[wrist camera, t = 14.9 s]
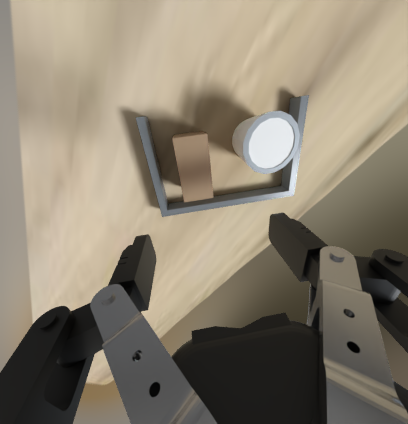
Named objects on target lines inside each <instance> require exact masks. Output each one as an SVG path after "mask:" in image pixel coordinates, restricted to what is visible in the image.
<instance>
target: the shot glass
mask: <svg viewBox="0 0 408 424" xmlns="http://www.w3.org/2000/svg"><path fill="white" fill-rule="evenodd" d="M299 138H300V133H299V129H298V124H297V122H296V121H295V120H294V119H293V117H292V116H291V115H290V114H287V113H285V112H282V111H274V112H267V113H264V114H261V115H258V116H255V117H252V118H248V119H246V120H244V121H243V122H241V123H240V124H239V125H238V126H237V128H236V129H235V131H234V134H233V136H232V146H233V148H234V150H235V152H236V153H237V154H238V155H239V156H240V157H241V158H242V160H243V161H244V162H245V163H246V164H247V165H248V166H250V167H251V168H252V169H253V170H254V171H256V172H259V173H263V174H267V173H274V172H276V171H278V170H280V169H281V168H283V167H285V166H286V165H287V164H288V162H289V161H290V160H291V159H292V158H293V156H294V154H295V152H296V150H297V148H298V144H299Z"/></svg>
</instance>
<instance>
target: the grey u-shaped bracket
mask: <svg viewBox="0 0 408 424" xmlns="http://www.w3.org/2000/svg"><path fill="white" fill-rule="evenodd" d="M308 98H309V95H307V96H300V97H295V98H290V106H289V114H290V115H291V116H292V117H293V119H294V120H295V121H296V122H297V124H298V129H299V133H300V138H299V144H298V148H297V150H296V152H295V154H294V156H293V158H292V159H291V160H290V161H289V162H288V164H287V165H286V166H285V167H283V172H282V181H281V186H277V187H271V188H264V189H258V190H252V191H245V192H239V193H232V194H226V195H220V196H213V197H214V198H209V199H203V200H197V201H190V202H184V201H182V202H175V203H169V204H168V201H167V197H166V193H165V189H164V184H163V180H162V176H161V172H160V168H159V164H158V159H157V155H156V151H155V147H154V143H153V139H152V134H151V130H150V126H149V122H148V118H147V117H136V121H137V125H138V128H139V132H140V136H141V140H142V143H143V147H144V151H145V154H146V158H147V162H148V166H149V169H150V173H151V177H152V180H153V184H154V188H155V192H156V195H157V199H158V203H159V206H160V210H161V214H162V217H164V216H170V215H177V214H183V213H189V212H195V211H201V210H208V209H214V208H220V207H226V206H232V205H239V204H245V203H251V202H257V201H263V200H270V199H276V198H282V197H288V196H294V192H295V185H296V178H297V171H298V165H299V158H300V151H301V145H302V138H303V131H304V124H305V118H306V111H307V104H308Z"/></svg>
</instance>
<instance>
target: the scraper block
mask: <svg viewBox="0 0 408 424" xmlns="http://www.w3.org/2000/svg"><path fill="white" fill-rule="evenodd" d="M172 140H173V145H174V150H175V156H176V161H177V166H178V172H179V177H180V182H181V187H182V193H183V198H184V202H190V201H197V200H203V199H209V198H214V197H213V187H212V177H211V166H210V156H209V146H208V135H207V133H205V132H203V131H198V132H191V133H183V134H176V135H174V136H173V138H172Z"/></svg>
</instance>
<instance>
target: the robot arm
mask: <svg viewBox="0 0 408 424" xmlns="http://www.w3.org/2000/svg"><path fill="white" fill-rule="evenodd" d="M269 239H270V242H271V243H272V245H273V246H274V247H275V248H276V250H277V251H278V253H279V254H280V255H281V257H282V258H283V259H284V261H285V262H286V263H287V265H288V266H289V267H290V269H291V270H292V272H293V273H294V274H295V276H296V277H297V278H298V280H299V281H300V282H304V281H309V282H310V283H311V285H310V295H309V310H308V321H307V325H306V324H303V323H300V322H296V321H290V320H289V318H288V317H287V315H286V313H281V314H276V315H271V316H266V317H262V318H260V319H259V320H256V321H255V322H253V323H251V324H249V325H247V326H245V327H243V328H228V327H217V326H215V327H210V328H204V329H200V330H194V331H192V339H191V340H190V341H188V342H186V343H185V344H184V345H182V346H181V347H180V348H179V349H178V350H177V351H176V352H175V353H174V354H173V355H172V357H171V356H170V355H169V353H168V352H167V351H166V349H165V347H164V346H163V344H162V343H161V341H160V340H159V338H158V337H157V335H156V334H155V332H154V331H153V329H152V328H151V326H150V325H149V323H148V322H147V320H146V319H145V318H144V316H143V315H142V313H141V311H145V310H148V307H149V301H150V295H151V289H152V283H153V277H154V271H155V266H156V254H155V250H154V247H153V244H152V241H151V238H150V236H149V235H141V236H136V237H135V240H134V243H133V245H129V246H128V247H127V248H126V249H125V250H124V251H123V252H122V255H121V257H120V260H119V261H118V265H117V266H116V268H115V271H114V273H113V275H112V278H111V280H110V282H109V284H108V286H107V287H105V288H103V289H101V290H100V291H99V292H98V293H97V294H96V295H95V296H94V297H93V299H92V301H91V303H89V304H87V305H85V306H82V307H80V308H78V309H76V310H73V311H70V310H69V309H68V307H66V306H59V307H56V308H53V309H51V310H49V311H48V312H46V313H45V314H43V315H42V316H41V317H39V318H38V319H37V320H36V321H35V322H34V324H33V325H32V326H31V328H30V329H29V331H28V332H27V334H26V335H25V337H24V338H23V340H22V341H21V343H20V344H19V346H18V347H17V349H16V350H15V352H14V353H13V355H12V356H11V358H10V359H9V361H8V362H7V364H6V365H5V367H4V368H3V370H2V371H1V373H0V424H73V421H74V417H75V414H76V411H77V408H78V405H79V401H80V398H81V395H82V392H83V389H84V386H85V383H86V380H87V376H88V373H89V370H90V367H91V364H92V361H93V357H94V354H95V353H97V352H98V351H100V350H102V349H103V350H104V353H105V356H106V358H107V361H108V364H109V366H110V369H111V372H112V374H113V377H114V380H115V382H116V385H117V388H118V390H119V393H120V396H121V398H122V401H123V404H124V406H125V409H126V412H127V415H128V417H129V419H130V423H131V424H408V390H406V389H405V388H403V387H402V386H400V385H399V384H397V383H396V382H394V381H393V379H392V375H391V371H390V367H389V363H388V359H387V356H386V352H385V348H384V344H383V340H382V336H381V332H380V328H379V324H378V321H379V322H380V323H381V324H382V326H383V327H384V328H385V329H386V330H387V331H388V332H389V333H390V334H391V335H392V336H393V337H394V339H395V340H396V341H397V342H398V343H399V344H400V345H401V346H402V347H403V348H404V349H405V351H406V352H407V353H408V306H407V305H405V304H404V303H403V302H402V301H401V300H399V299H398V298H397V296H398V295H399V293H400V292H402V293H403V294H404V295H406V296H407V297H408V257H407V256H405V255H403V254H401V253H399V252H396V251H392V250H387V249H378V250H375V251H374V252H373V254H372V256H371V257H358V256H353V255H352V254H351V253H349V252H348V251H346V250H344V249H342V248H338V247H334V246H328V245H327V244H325V243H324V242H323V241H322V240H321V239H319V238H318V237H317V236H316V235H315V234H314V233H312V232H311V231H310V230H309V229H308V228H306V227H305V226H304V225H303V224H302V223H301V222H299V221H296V220H294V219H290V218H289V217H288V216H287V215H286V214H285V213H278V214H272V215H271V216H270V223H269Z"/></svg>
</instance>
